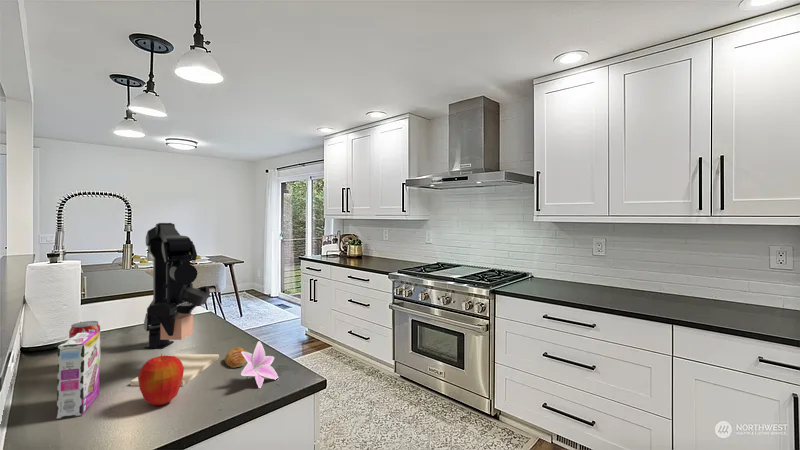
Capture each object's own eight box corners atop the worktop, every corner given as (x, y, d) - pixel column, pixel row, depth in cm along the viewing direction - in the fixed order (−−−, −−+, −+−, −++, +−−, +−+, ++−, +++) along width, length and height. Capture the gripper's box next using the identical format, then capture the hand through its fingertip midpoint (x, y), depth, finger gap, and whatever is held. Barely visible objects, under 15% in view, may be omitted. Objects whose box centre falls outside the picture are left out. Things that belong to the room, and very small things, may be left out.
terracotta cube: (173, 333, 113) (173, 313, 113) (192, 333, 113) (192, 313, 113) (160, 339, 107) (160, 318, 107) (181, 339, 107) (181, 319, 107)
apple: (133, 415, 84) (134, 363, 84) (143, 398, 92) (143, 350, 92) (181, 408, 88) (181, 357, 88) (186, 391, 96) (186, 345, 96)
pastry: (250, 367, 113) (250, 354, 113) (226, 371, 110) (226, 358, 110) (246, 356, 121) (246, 345, 121) (223, 360, 118) (223, 348, 118)
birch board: (175, 357, 119) (175, 353, 119) (218, 358, 119) (218, 354, 119) (130, 385, 99) (130, 381, 99) (183, 386, 99) (183, 381, 99)
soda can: (82, 372, 107) (82, 327, 106) (62, 370, 108) (62, 326, 108) (106, 363, 114) (106, 321, 113) (87, 361, 115) (87, 319, 115)
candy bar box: (84, 416, 84) (84, 343, 84) (55, 420, 82) (55, 346, 82) (101, 394, 94) (101, 330, 94) (76, 397, 92) (76, 332, 92)
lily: (232, 399, 95) (249, 368, 94) (223, 367, 103) (238, 338, 102) (274, 398, 103) (290, 370, 102) (262, 369, 112) (277, 342, 111)
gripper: (186, 285, 100) (186, 343, 101) (219, 275, 119) (219, 323, 119) (145, 285, 100) (145, 342, 101) (185, 275, 119) (184, 323, 119)
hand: (177, 332), depth 110 cm, fingers closed on terracotta cube, 6 cm apart
